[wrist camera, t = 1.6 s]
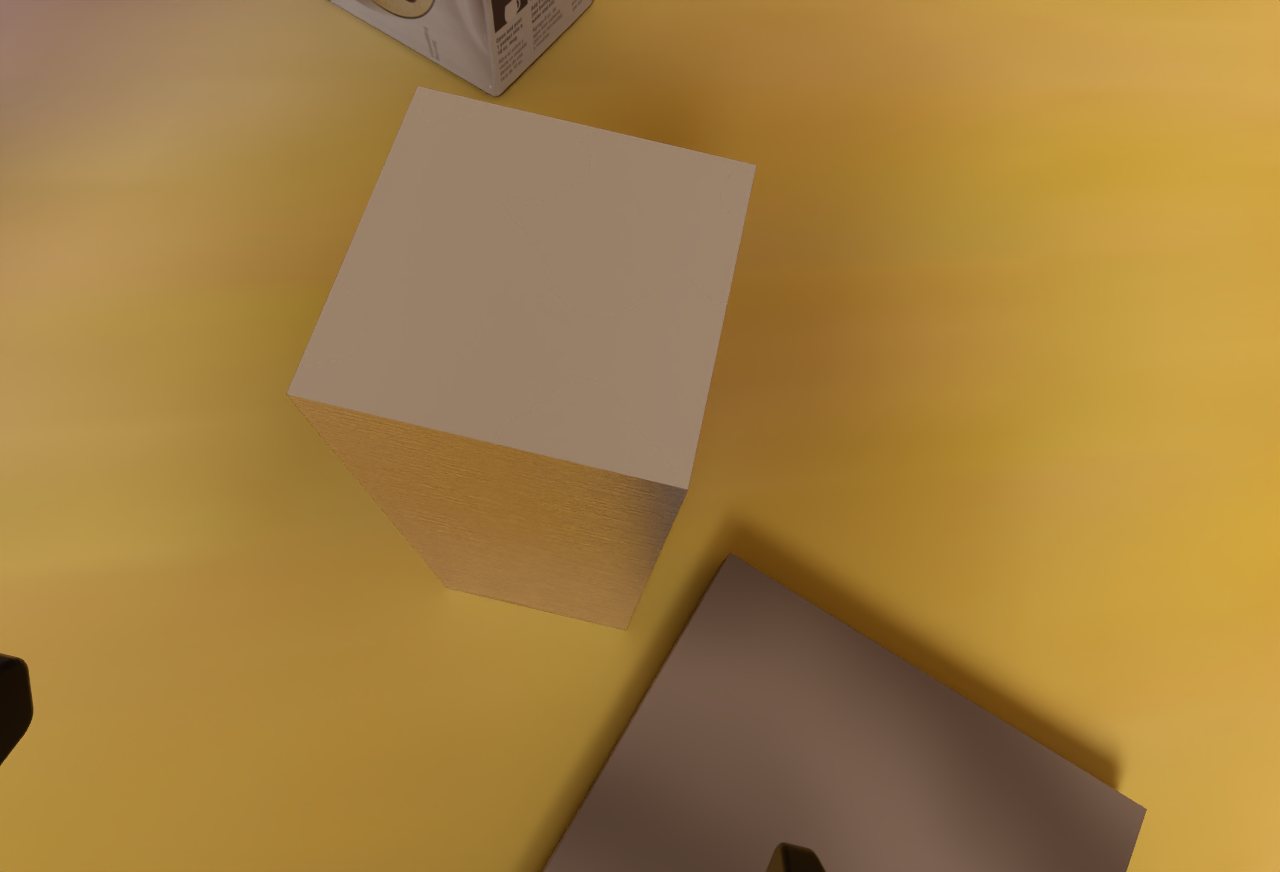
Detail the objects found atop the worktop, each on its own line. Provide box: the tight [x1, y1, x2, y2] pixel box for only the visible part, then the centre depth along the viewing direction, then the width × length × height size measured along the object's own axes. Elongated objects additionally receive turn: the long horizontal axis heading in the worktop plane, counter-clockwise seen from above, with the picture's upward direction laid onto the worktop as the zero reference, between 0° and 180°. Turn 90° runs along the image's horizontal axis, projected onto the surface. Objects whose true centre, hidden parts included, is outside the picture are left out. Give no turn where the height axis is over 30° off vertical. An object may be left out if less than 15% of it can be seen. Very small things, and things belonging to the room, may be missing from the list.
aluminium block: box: [287, 86, 756, 630], centre depth 17 cm, size 5×5×13 cm
